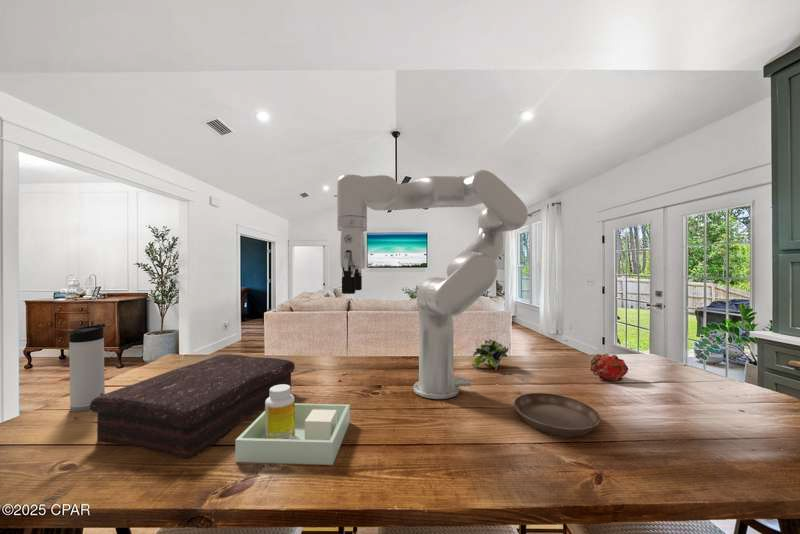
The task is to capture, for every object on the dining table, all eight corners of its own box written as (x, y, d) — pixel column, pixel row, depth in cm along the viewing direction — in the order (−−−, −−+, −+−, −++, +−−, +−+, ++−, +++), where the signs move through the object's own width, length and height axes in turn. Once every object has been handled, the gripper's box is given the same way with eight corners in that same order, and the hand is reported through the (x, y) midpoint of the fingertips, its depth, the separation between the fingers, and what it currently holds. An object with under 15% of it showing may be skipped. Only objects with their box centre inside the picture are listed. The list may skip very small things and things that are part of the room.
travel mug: (111, 403, 85) (110, 324, 84) (77, 414, 79) (76, 329, 78) (98, 399, 87) (97, 322, 87) (65, 409, 81) (63, 327, 81)
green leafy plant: (489, 379, 117) (506, 350, 119) (502, 385, 106) (520, 352, 109) (463, 361, 117) (480, 332, 120) (472, 365, 107) (491, 333, 109)
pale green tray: (349, 424, 74) (349, 404, 74) (332, 467, 58) (332, 442, 58) (272, 422, 74) (272, 402, 74) (235, 465, 59) (235, 440, 59)
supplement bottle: (299, 439, 66) (299, 388, 66) (270, 449, 63) (270, 395, 63) (288, 428, 71) (288, 380, 70) (261, 437, 67) (261, 387, 67)
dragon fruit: (586, 383, 103) (623, 388, 104) (603, 375, 96) (642, 380, 97) (580, 356, 108) (615, 361, 109) (596, 347, 101) (633, 352, 102)
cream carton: (336, 434, 68) (336, 409, 68) (330, 447, 63) (330, 421, 63) (312, 433, 69) (312, 409, 69) (304, 447, 64) (304, 421, 64)
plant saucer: (615, 446, 66) (615, 431, 66) (521, 437, 69) (521, 422, 69) (582, 407, 83) (583, 395, 83) (509, 402, 86) (509, 390, 86)
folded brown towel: (188, 465, 60) (187, 409, 59) (87, 443, 66) (86, 394, 66) (296, 392, 92) (296, 357, 92) (221, 383, 99) (221, 350, 99)
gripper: (361, 220, 76) (361, 295, 77) (371, 228, 94) (371, 289, 94) (329, 221, 77) (329, 295, 77) (344, 228, 94) (344, 288, 94)
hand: (352, 291), depth 85 cm, fingers open, 9 cm apart
